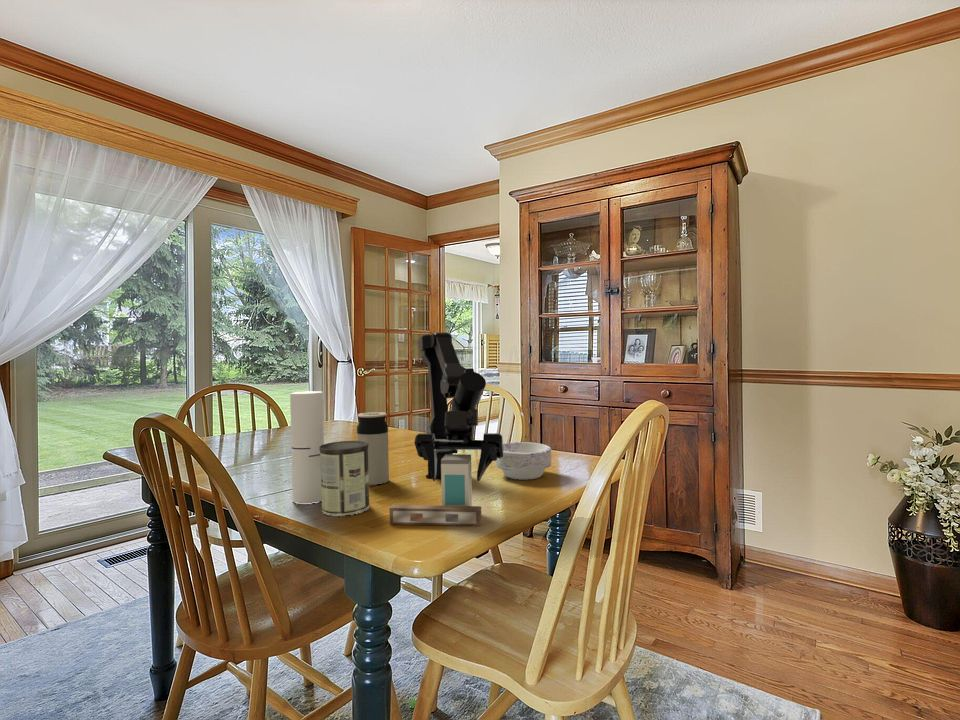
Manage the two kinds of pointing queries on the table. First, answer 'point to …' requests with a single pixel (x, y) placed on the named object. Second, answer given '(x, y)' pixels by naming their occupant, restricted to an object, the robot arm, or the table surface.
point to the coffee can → (344, 477)
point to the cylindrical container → (306, 445)
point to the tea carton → (456, 480)
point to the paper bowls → (524, 460)
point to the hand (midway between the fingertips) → (455, 480)
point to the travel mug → (375, 445)
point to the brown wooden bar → (435, 515)
